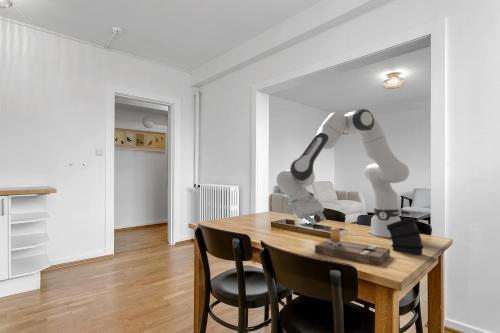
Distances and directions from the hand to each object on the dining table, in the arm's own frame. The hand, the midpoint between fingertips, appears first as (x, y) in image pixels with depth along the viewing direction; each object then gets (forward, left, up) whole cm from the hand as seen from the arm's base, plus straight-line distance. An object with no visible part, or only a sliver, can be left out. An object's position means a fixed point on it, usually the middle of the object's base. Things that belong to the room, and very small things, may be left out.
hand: (319, 222), depth 126 cm
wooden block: (0, +7, -12) cm, 14 cm away
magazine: (-18, +30, -12) cm, 37 cm away
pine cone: (-45, -29, -12) cm, 55 cm away
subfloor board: (0, +14, -12) cm, 18 cm away
